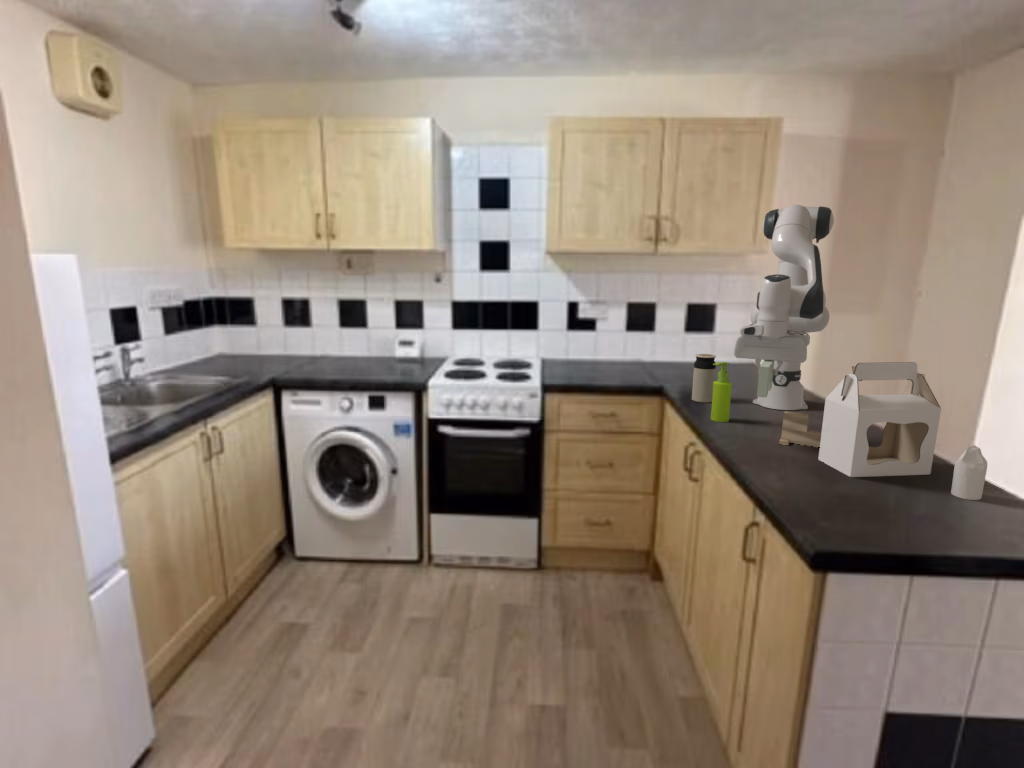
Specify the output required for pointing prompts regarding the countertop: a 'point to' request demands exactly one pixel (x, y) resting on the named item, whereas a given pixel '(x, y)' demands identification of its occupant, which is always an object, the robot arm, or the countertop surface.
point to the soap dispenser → (721, 395)
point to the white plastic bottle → (969, 474)
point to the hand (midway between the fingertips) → (767, 374)
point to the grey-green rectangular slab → (765, 378)
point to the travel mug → (703, 378)
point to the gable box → (905, 414)
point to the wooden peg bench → (798, 430)
